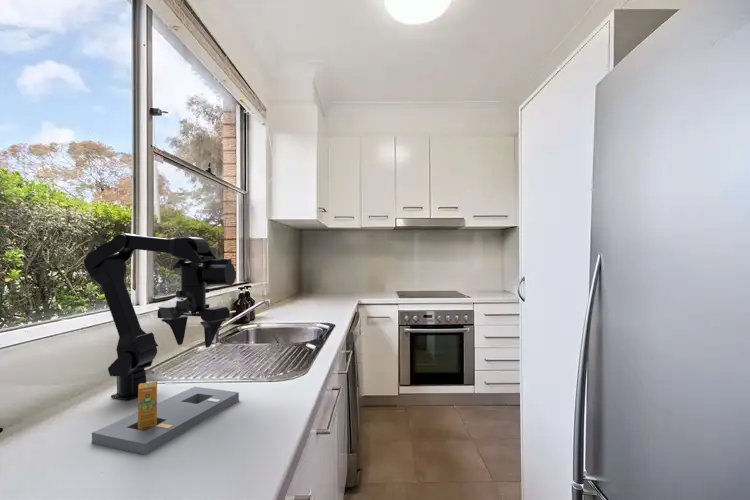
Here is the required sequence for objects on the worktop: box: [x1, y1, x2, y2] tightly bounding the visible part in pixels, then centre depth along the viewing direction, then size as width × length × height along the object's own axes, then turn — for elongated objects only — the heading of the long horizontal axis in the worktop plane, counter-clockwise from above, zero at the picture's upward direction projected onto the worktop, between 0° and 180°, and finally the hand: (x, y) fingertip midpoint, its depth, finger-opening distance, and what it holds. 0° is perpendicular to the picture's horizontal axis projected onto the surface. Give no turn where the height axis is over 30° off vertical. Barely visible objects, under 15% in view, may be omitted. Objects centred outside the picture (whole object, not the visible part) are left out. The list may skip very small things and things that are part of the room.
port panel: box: [91, 386, 240, 455], centre depth 78 cm, size 14×25×2 cm, turn 162°
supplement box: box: [137, 380, 158, 431], centre depth 72 cm, size 3×3×10 cm
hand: (193, 346), depth 91 cm, fingers open, 9 cm apart
